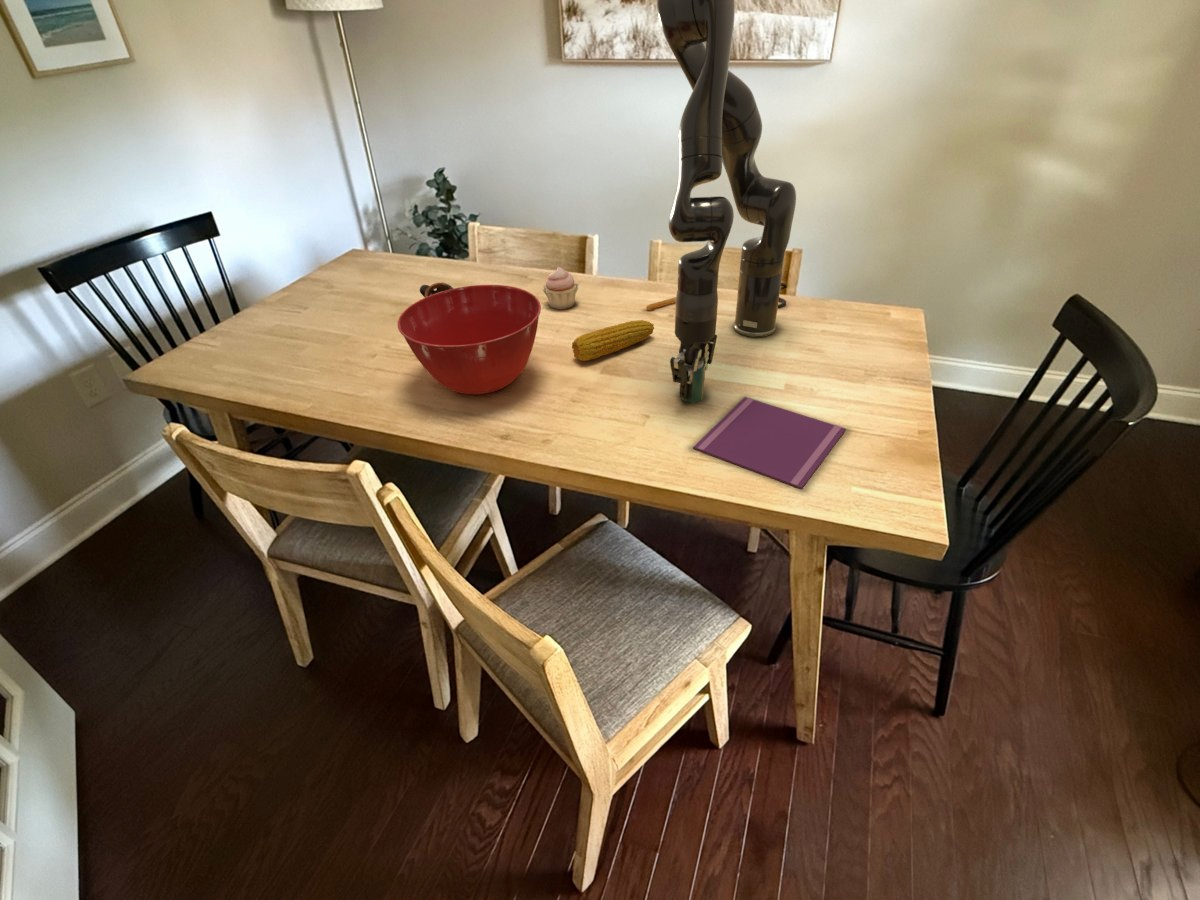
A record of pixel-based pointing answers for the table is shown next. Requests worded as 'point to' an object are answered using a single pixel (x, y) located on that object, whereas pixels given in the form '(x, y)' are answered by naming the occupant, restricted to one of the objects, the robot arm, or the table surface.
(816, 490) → the table surface
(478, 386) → the mixing bowl
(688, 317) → the robot arm
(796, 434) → the napkin
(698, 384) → the salt shaker
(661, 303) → the fork
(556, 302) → the cupcake
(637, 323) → the food
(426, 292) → the pottery mug
